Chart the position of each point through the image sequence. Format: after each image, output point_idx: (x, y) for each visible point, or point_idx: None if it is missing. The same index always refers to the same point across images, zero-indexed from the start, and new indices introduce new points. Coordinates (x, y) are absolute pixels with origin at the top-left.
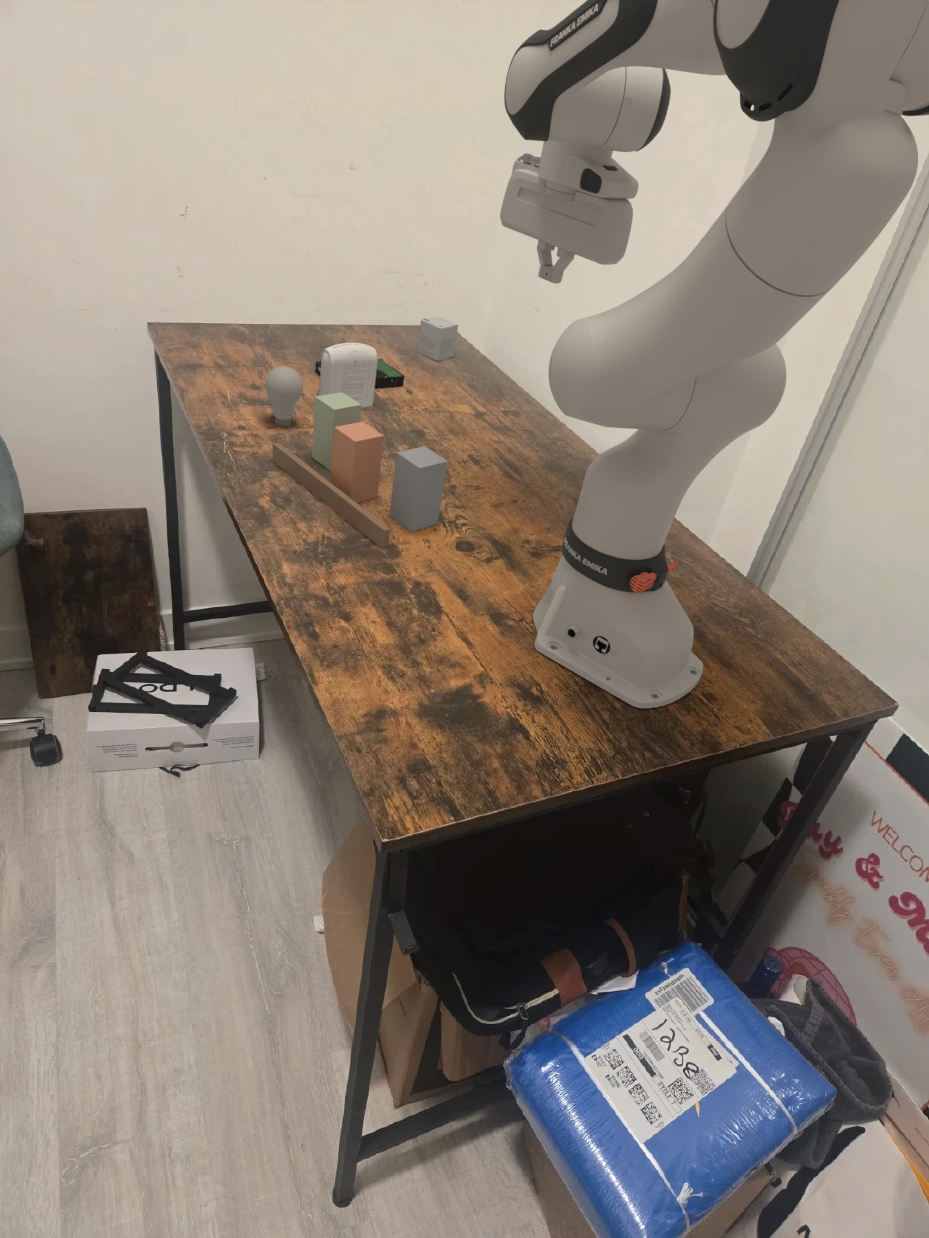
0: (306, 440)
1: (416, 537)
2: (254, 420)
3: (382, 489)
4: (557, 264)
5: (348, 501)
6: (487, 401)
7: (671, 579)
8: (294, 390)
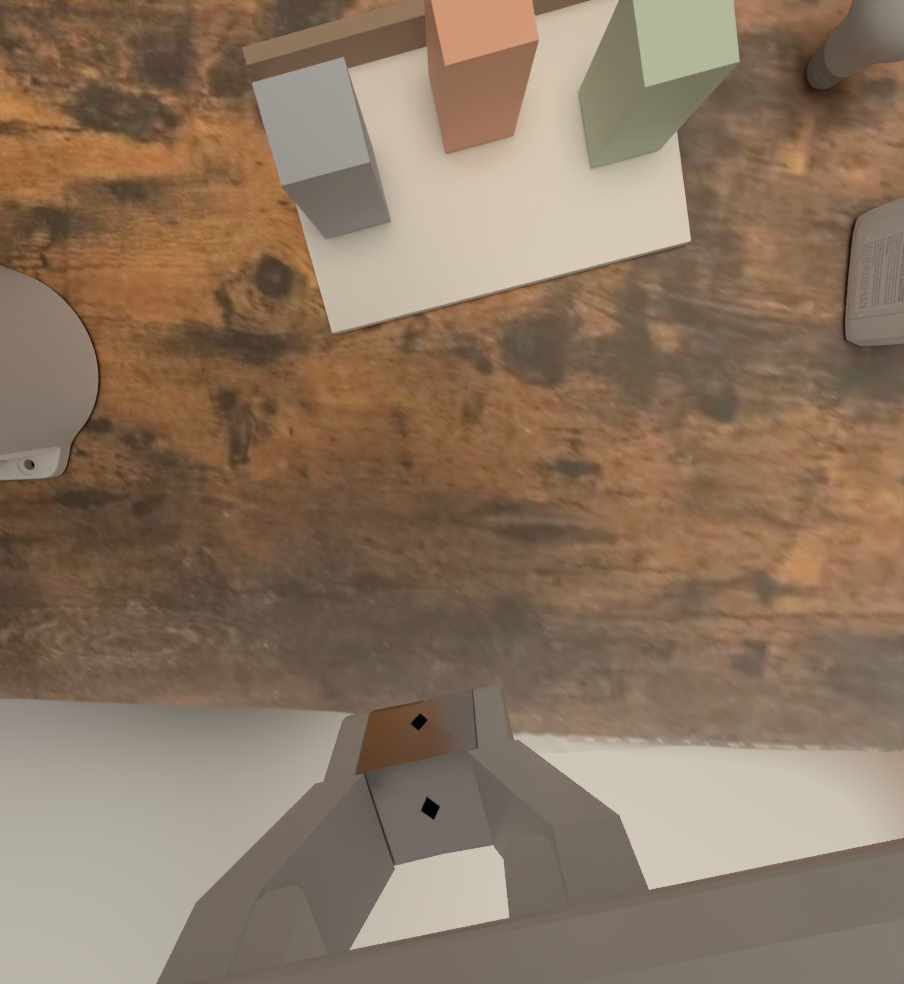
0: (755, 119)
1: None
2: None
3: None
4: (291, 824)
5: (370, 14)
6: (819, 638)
7: (121, 594)
8: (869, 2)
